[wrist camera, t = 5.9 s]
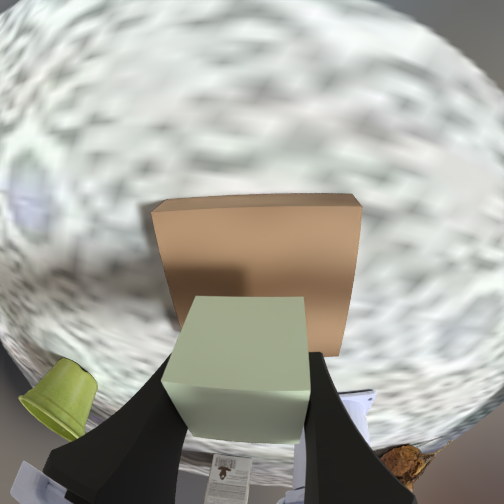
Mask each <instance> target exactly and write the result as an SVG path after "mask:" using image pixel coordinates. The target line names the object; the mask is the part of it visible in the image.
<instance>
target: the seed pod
mask: <svg viewBox="0 0 504 504" xmlns="http://www.w3.org/2000/svg"><path fill="white" fill-rule="evenodd" d="M451 442H453V441H452V440H450V441H449V442H448V443H447V444H446V445H445V446H444V447H442V448H441V449H440V450H438V451H436V452H434V453H429V454H422V453H421V451H420V449H418V448H415V447H414V446H409V445H408V446H402V447H399V448H394V449H392V450H390V451H388V452H387V453H386V454H384V455H383V456H382V458H380V460H381V461H382V462H383V463H384V465H385V466H386V467H387V468H388V469H389V470H390V471H391V472H392V473H393V475H394V476H395V477H396V478H397V479H398V480H399V481H400V482H401V483H402V484H404V485H405V486H406V487H407V488H408V489H409V490H410V491H411V492H412V491H413V483H414V482H415V481H416V480H417V479H419V477H420V476H421V475H422V474H423V473H424V470H425V468H426V467H427V466H428V465H429V464H430V462H431V461H432V460H433V459H434V458H435V456H436V454H437V453H438V452H440V451H441V450H442V449H443V448H445V447H446V446H447V445H448V444H449V443H451ZM430 457H432V459H431V460H430V461H429V462H428V463H427V464H426V465H425V463H426V459H428V458H430Z"/></svg>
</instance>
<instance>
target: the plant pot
mask: <svg viewBox="0 0 504 504" xmlns="http://www.w3.org/2000/svg"><path fill="white" fill-rule="evenodd" d="M97 389H98V385H97V383H96V381H95V380H94V378H93V377H92V376H91V375H90V374H89V373H88V372H85V371H83V370H82V369H81V368H80V366H79V365H78V364H77V363H75V362H73V361H71V360H69V359H65V358H62V359H60V360H59V361H58V362H57V363H56V364H55V365H54V366H53V367H52V369H51V370H50V371H49V372H48V373H47V374H46V375H45V376H44V377H43V378H42V379H41V380H40V381H39V383H38V384H37V385H36V386H35V387H34V388H33V389H32V390H29V391H28V392H27V393H26V394H25V395H24V396H22V395H20V396H19V400H20V401H21V403H22V404H23V405H24V407H25V408H26V409H27V410H28V411H29V412H30V413H31V414H32V415H33V416H34V417H36V418H37V419H38V420H39V421H40V422H42V423H43V424H44V425H45V426H47V427H48V428H50V429H51V430H53V431H54V432H55V433H57V434H58V435H60V436H62V437H63V438H65V439H67V440H68V441H70V442H72V441H74V440H76V439H78V438H79V437H81V436H83V435H85V430H84V429H85V425H86V422H87V418H88V415H89V412H90V409H91V406H92V403H93V400H94V397H95V394H96V392H97Z"/></svg>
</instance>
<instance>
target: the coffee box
mask: <svg viewBox="0 0 504 504" xmlns="http://www.w3.org/2000/svg"><path fill="white" fill-rule="evenodd" d="M251 467H252V458H245V457H236V456H228V455H221V454H215V453H214V455H213V460H212V465H211V469H210V474H209V479H208V484H207V489H206V493H205V498H204V502H203V504H247V501H248V494H249V486H250V477H251Z"/></svg>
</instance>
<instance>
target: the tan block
mask: <svg viewBox="0 0 504 504" xmlns="http://www.w3.org/2000/svg"><path fill="white" fill-rule="evenodd" d="M151 215H152V220H153V225H154V229H155V234H156V238H157V243H158V247H159V251H160V255H161V259H162V263H163V267H164V271H165V275H166V279H167V282H168V286H169V290H170V293H171V297H172V300H173V304H174V307H175V311H176V314H177V317H178V320H179V324H180V327H181V330H182V327H183V325H184V322H185V320H186V318H187V315H188V313H189V311H190V308H191V306H192V303H193V301H194V299H195V296H222V297H304V305H305V316H306V328H307V340H308V352H321V353H323V357H333V356H339V352H340V348H341V343H342V339H343V334H344V330H345V325H346V320H347V315H348V310H349V305H350V299H351V294H352V288H353V282H354V275H355V269H356V262H357V254H358V246H359V238H360V229H361V219H362V205H361V204H360V203H359V202H358V201H357V199H356V198H355V197H354V196H353V194H332V193H291V194H249V195H226V196H208V197H192V198H178V199H166V200H165V201H164V202H163V203H162V204H160V205H159V206H158V207H157V208H155V209H154V210H153V211H152V212H151Z"/></svg>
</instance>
